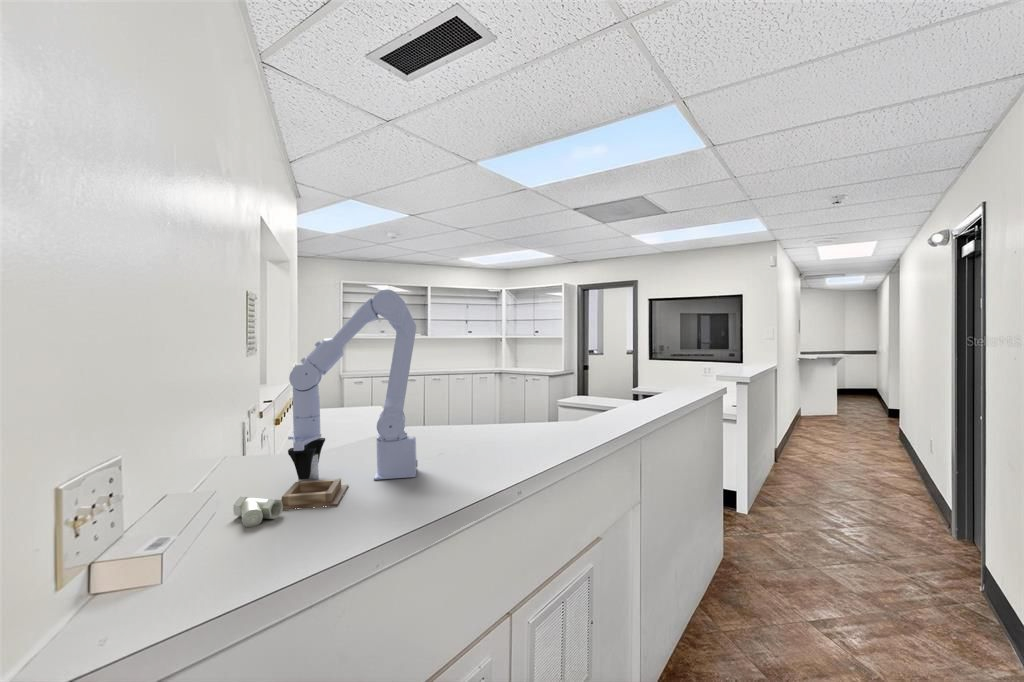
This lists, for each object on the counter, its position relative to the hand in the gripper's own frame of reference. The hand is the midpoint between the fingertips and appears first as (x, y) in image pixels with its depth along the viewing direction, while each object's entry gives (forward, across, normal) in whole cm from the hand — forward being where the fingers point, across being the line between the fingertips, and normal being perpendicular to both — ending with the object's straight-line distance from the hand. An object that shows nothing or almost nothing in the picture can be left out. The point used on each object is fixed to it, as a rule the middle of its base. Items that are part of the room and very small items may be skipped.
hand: (308, 474), depth 109 cm
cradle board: (+2, +12, +4) cm, 13 cm away
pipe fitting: (+2, +22, -4) cm, 23 cm away
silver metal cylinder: (+2, 0, 0) cm, 2 cm away
